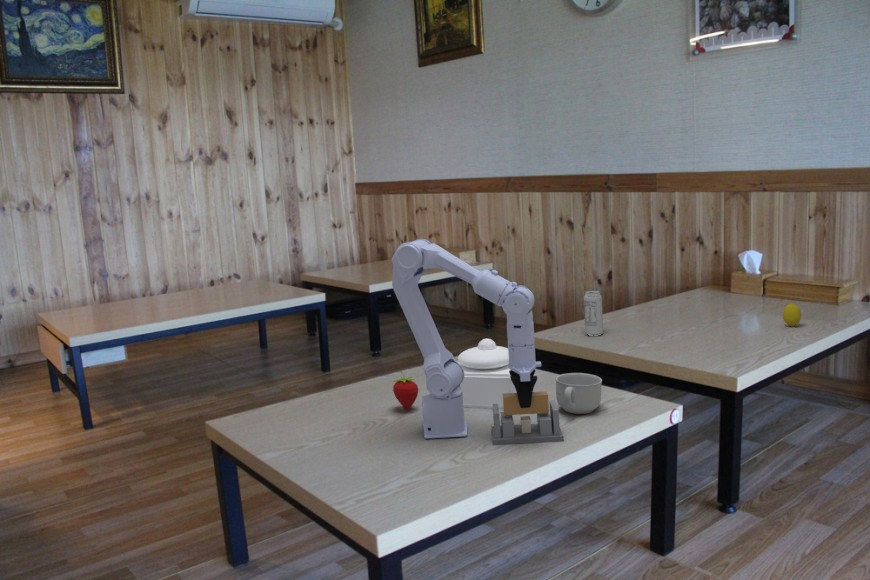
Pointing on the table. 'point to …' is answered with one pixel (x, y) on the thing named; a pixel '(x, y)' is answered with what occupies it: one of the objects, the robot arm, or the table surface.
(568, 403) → the teacup
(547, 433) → the display stand
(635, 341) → the table surface
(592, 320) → the energy drink can
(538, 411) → the orange-brown rectangular block
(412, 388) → the strawberry
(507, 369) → the butter dish
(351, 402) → the table surface
